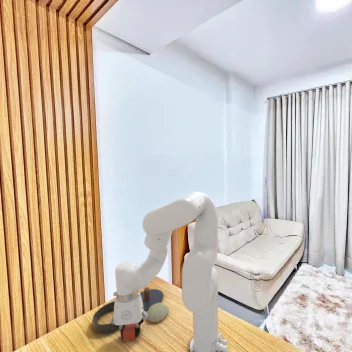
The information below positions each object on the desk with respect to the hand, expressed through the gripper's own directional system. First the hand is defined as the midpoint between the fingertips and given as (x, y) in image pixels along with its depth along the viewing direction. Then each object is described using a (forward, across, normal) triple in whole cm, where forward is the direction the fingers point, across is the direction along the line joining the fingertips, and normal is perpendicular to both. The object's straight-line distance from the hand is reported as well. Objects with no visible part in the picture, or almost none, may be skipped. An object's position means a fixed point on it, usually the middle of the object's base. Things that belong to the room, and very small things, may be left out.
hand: (130, 334), depth 84 cm
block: (+1, 0, 0) cm, 1 cm away
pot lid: (0, +1, +20) cm, 20 cm away
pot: (+1, -10, +10) cm, 14 cm away
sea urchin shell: (+1, +9, +9) cm, 12 cm away
